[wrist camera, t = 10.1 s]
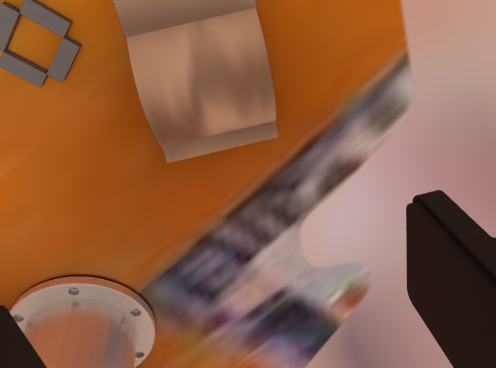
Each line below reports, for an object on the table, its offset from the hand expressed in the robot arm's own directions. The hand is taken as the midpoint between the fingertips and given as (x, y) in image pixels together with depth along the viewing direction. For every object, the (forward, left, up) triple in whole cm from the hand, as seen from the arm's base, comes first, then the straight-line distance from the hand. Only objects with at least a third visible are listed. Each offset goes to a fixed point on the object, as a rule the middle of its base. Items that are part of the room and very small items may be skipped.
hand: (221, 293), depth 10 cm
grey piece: (0, +10, -21) cm, 24 cm away
